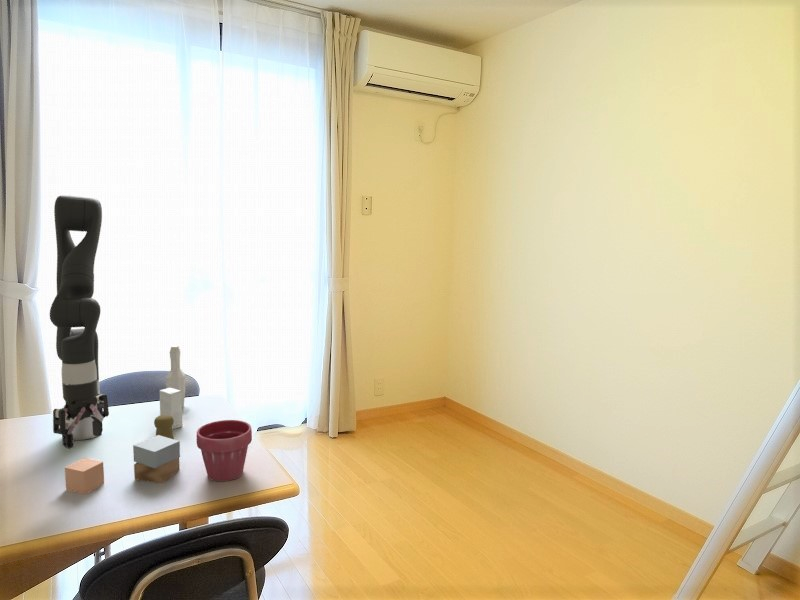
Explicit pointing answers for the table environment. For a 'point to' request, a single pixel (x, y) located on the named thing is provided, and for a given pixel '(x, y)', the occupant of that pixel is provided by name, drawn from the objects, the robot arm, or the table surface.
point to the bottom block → (156, 471)
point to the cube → (84, 475)
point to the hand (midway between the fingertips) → (83, 441)
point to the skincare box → (171, 405)
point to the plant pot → (224, 448)
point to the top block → (156, 451)
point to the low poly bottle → (176, 373)
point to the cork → (164, 426)
